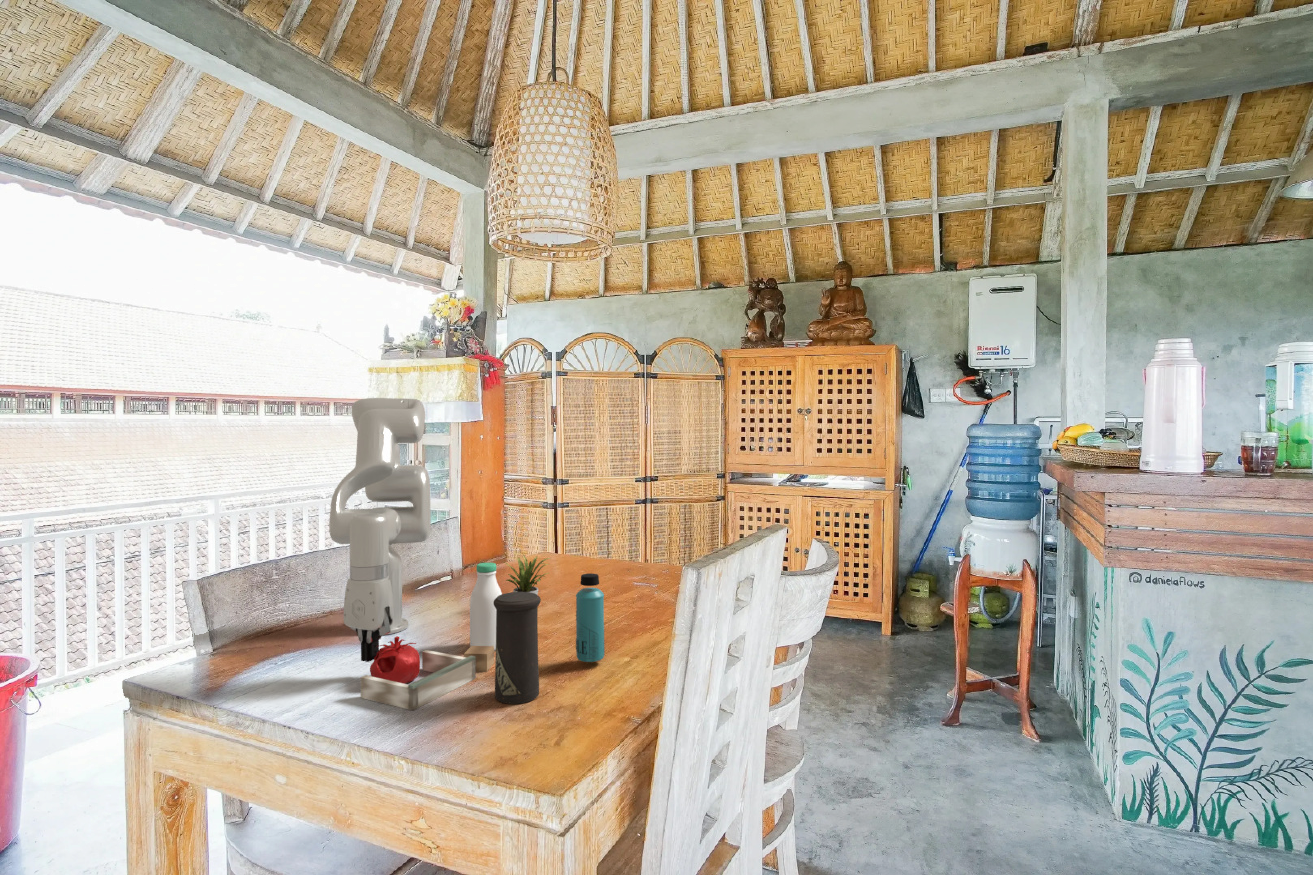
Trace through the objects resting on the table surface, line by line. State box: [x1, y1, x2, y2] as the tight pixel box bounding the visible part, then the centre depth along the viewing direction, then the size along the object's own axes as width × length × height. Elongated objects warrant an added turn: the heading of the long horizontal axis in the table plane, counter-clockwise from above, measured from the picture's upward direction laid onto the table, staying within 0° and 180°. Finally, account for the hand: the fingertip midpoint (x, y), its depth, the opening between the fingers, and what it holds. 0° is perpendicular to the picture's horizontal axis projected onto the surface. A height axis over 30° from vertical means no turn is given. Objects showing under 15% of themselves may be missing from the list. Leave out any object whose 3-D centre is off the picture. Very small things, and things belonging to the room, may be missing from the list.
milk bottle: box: [469, 562, 503, 652], centre depth 156 cm, size 8×8×20 cm
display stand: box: [360, 649, 477, 711], centre depth 132 cm, size 14×17×5 cm
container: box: [494, 591, 541, 705], centre depth 128 cm, size 9×9×20 cm
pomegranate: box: [369, 635, 421, 684], centre depth 135 cm, size 10×10×9 cm
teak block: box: [463, 646, 495, 673], centre depth 143 cm, size 5×5×4 cm
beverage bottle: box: [575, 572, 606, 663], centre depth 145 cm, size 6×7×20 cm
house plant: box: [503, 553, 551, 596], centre depth 187 cm, size 14×14×16 cm
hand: (370, 659), depth 138 cm, fingers closed
